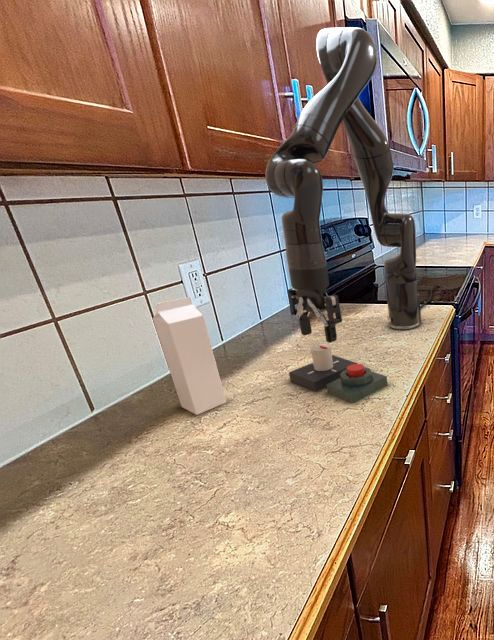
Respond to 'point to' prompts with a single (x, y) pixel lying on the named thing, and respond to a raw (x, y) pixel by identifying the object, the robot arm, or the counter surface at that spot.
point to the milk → (189, 355)
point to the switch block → (356, 385)
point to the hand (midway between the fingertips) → (318, 337)
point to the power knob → (322, 357)
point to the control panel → (319, 374)
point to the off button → (355, 370)
